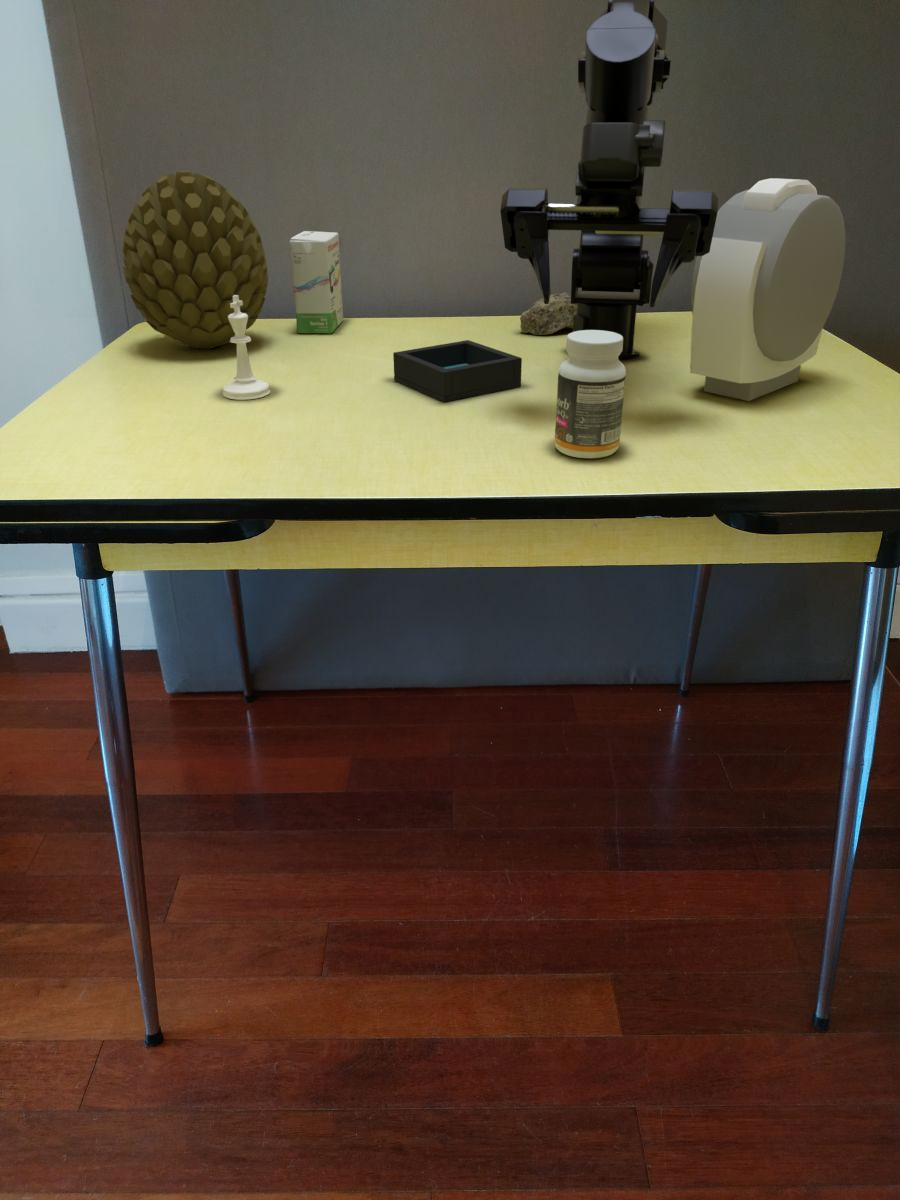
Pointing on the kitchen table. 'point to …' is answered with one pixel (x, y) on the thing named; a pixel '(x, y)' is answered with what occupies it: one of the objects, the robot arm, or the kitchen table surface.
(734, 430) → the kitchen table surface
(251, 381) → the chess piece
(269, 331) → the kitchen table surface
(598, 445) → the pill bottle
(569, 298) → the rock
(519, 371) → the socket pad
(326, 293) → the ink box
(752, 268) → the alarm clock
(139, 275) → the decorative object
